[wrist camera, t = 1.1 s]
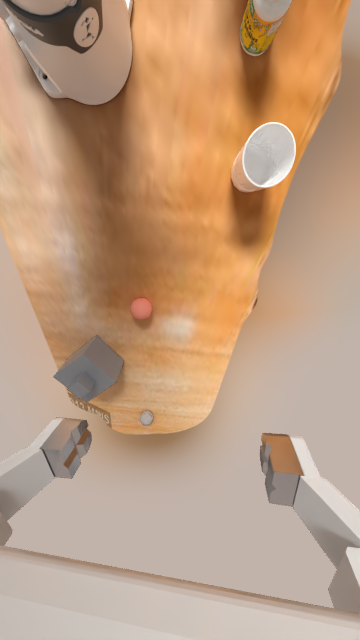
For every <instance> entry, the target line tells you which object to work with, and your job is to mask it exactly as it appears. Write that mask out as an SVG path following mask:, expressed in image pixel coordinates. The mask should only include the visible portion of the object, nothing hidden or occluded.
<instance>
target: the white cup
mask: <svg viewBox="0 0 360 640" xmlns="http://www.w3.org/2000/svg"><path fill="white" fill-rule="evenodd" d="M295 154H296V145H295V140H294V137H293V135H292V133H291V131H290V130H289V129H288V128H287V127H286V126H285V125H283V124H281V123H277V122H271V123H266V124H264V125H262V126H260V127H259V128H257V129H256V130H255V131H254V132H253V133H252V134H251V136H250V137H249V139H248V140H247V141H246V143H245V144H244V146H243V147H242V149H241V150H240V152H239V153H238V155H237V157H236V159H235V161H234V163H233V165H232V168H231V179H232V182H233V185H234V186H235V187H236V188H237V189H238V190H239V191H242V192H252V191H258V190H261V189H265V188H269V187H272V186H275V185H276V184H278V183H280V182H281V181H282V180H283V179H284V178H285V177H286V176H287V175H288V173H289V172H290V170H291V168H292V166H293V163H294V160H295Z"/></svg>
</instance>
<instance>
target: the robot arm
mask: <svg viewBox="0 0 360 640" xmlns="http://www.w3.org/2000/svg"><path fill="white" fill-rule="evenodd" d="M132 5H133V0H0V17H1V18H2V19H3V20H5V21H6V23H7V24H8V26H9V28H10V30H11V32H12V33H13V35H14V37H15V39H16V40H17V42H18V44H19V46H20V48H21V49H22V51H23V53H24V55H25V56H26V58H27V60H28V62H29V64H30V65H31V67H32V69H33V71H34V73H35V74H36V76H37V78H38V80H39V81H40V83H41V85H42V87H43V88H44V90H45V91H46V93H47V94H48V95H49V96H50V97H52V98H66V97H68V98H71V99H74V100H76V101H78V102H81V103H84V104H88V105H99V104H103V103H106V102H108V101H109V100H111V99H112V98H114V97H115V96H116V95H117V94H118V93H119V92H120V90H121V89H122V87H123V86H124V84H125V82H126V80H127V77H128V74H129V71H130V66H131V60H132V39H131V31H130V17H131V11H132ZM46 75H47V76H48V78H47V80H45V76H46ZM87 427H88V423H87V420H80V419H71V418H60V417H56V418H55V419H53V420H52V421H51V422H50V423H49V425H48V426H47V427H46V428H45V429H44V430H43V431H42V433H41V434H40V435H39V436H38V437H37V439H36V440H35V441H34V442H33V443H32V444H31V445H30V446H29V448H24V449H22V450H21V451H19V452H17V453H16V454H14V455H13V456H11V457H9V458H8V459H6V460H4V461H3V462H1V463H0V640H360V510H358V509H357V508H356V507H355V506H354V505H353V504H352V503H351V502H350V501H349V500H348V499H346V497H345V496H344V495H343V494H342V493H340V492H339V491H338V490H337V489H336V488H335V487H334V486H333V485H332V484H331V483H330V482H329V481H328V480H327V479H326V478H321V476H320V474H319V472H318V470H317V468H316V465H315V463H314V461H313V459H312V457H311V454H310V452H309V450H308V448H307V445H306V443H305V441H304V439H303V437H302V436H297V435H286V434H272V433H262V438H261V440H262V446H260V461H261V467H262V472H263V473H264V474H265V476H266V479H265V486H266V491H267V495H268V500H269V503H272V504H278V505H285V506H291V507H293V509H294V510H295V512H296V513H297V515H298V516H299V517H300V519H301V520H302V522H303V523H304V524H305V526H306V527H307V528H308V530H309V531H310V533H311V534H312V535H313V537H314V538H315V539H316V541H317V542H318V544H319V545H320V546H321V548H322V549H323V551H324V552H325V553H326V555H327V556H328V558H329V559H330V560H331V562H332V563H333V565H334V566H335V567H336V569H337V571H336V573H335V575H334V577H333V580H332V582H331V584H330V586H329V588H328V591H329V594H330V597H331V600H332V603H333V606H334V608H329V607H324V606H318V605H313V604H308V603H302V602H297V601H291V600H286V599H281V598H276V597H271V596H265V595H260V594H255V593H250V592H244V591H239V590H234V589H228V588H223V587H217V586H213V585H207V584H202V583H197V582H192V581H186V580H181V579H175V578H170V577H164V576H160V575H154V574H149V573H144V572H139V571H133V570H128V569H123V568H117V567H112V566H106V565H102V564H96V563H91V562H85V561H80V560H75V559H70V558H64V557H59V556H54V555H49V554H44V553H38V552H33V551H28V550H22V549H17V548H11V547H6V546H4V545H5V544H6V542H7V541H8V539H9V537H10V536H11V534H12V528H11V527H10V525H9V524H8V522H7V520H8V519H10V518H11V517H12V516H13V515H14V514H15V513H16V512H17V511H18V510H20V509H21V508H22V507H23V506H24V505H25V504H26V503H28V502H29V501H30V500H31V499H32V498H33V497H34V496H35V495H37V494H38V493H39V492H40V491H41V490H42V489H43V488H44V487H45V486H46V485H48V484H49V483H50V482H51V481H52V480H53V479H54V477H59V478H71V479H72V478H73V476H74V474H75V473H76V471H77V469H78V468H79V466H80V464H81V458H82V457H83V456H84V455H85V454H86V453H87V452H88V450H89V448H90V445H91V441H92V436H91V432H90V431H89V430H88V429H87Z"/></svg>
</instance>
